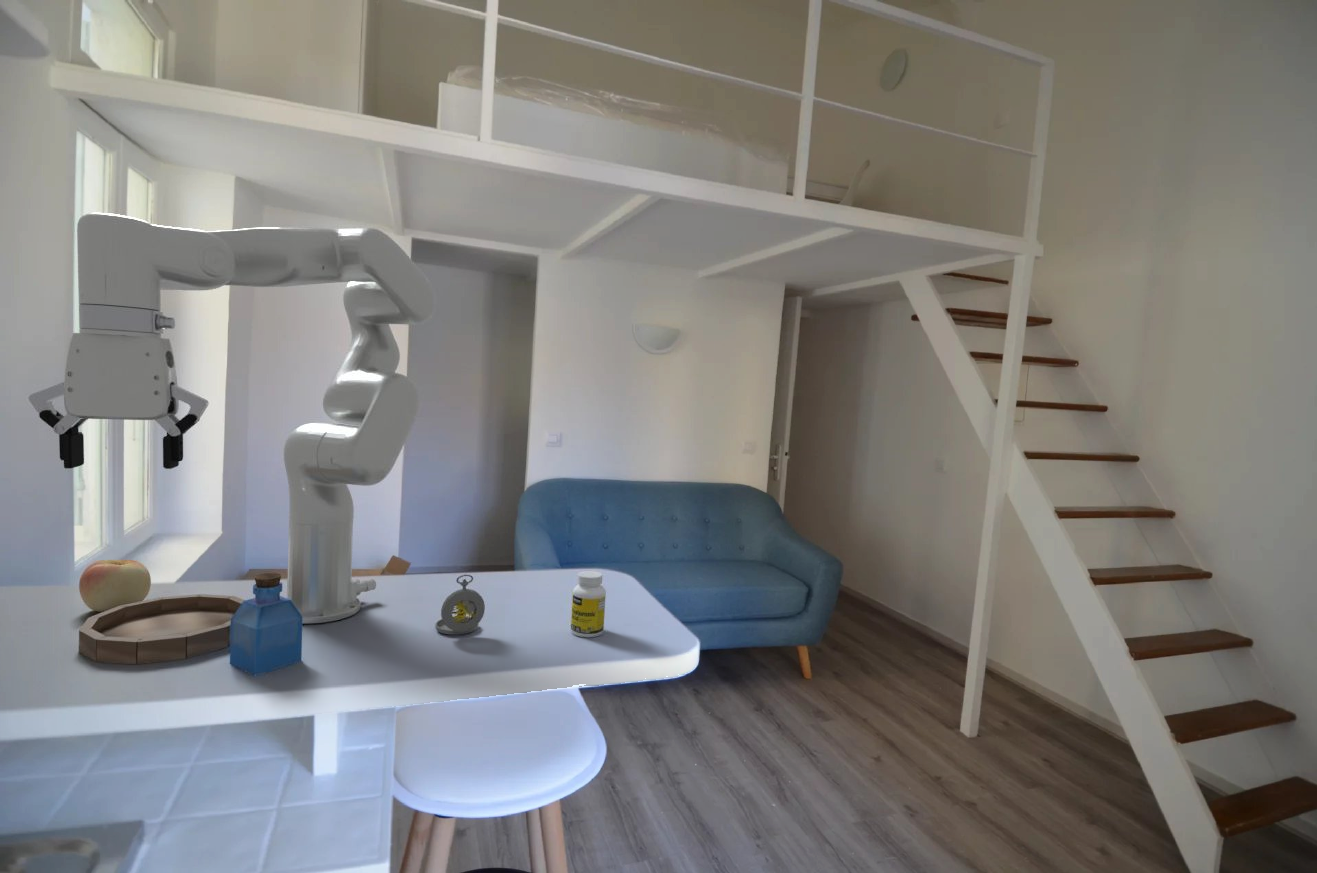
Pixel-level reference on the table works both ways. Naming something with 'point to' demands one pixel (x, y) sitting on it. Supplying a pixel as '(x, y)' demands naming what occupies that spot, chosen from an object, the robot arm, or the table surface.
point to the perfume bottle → (266, 629)
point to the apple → (114, 584)
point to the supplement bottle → (588, 605)
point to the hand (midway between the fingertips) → (123, 467)
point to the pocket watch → (461, 611)
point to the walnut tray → (159, 629)
